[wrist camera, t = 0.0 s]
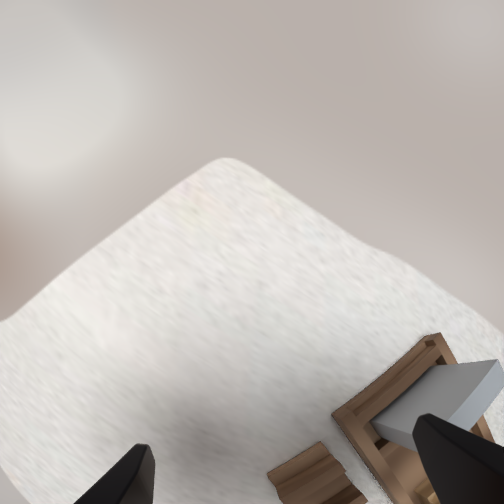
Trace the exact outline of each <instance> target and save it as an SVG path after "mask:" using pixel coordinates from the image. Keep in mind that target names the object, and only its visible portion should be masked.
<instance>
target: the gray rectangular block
mask: <svg viewBox="0 0 504 504" xmlns="http://www.w3.org/2000/svg"><path fill="white" fill-rule="evenodd" d="M503 387H504V371H503V369H502V367H501V365H500V362H499V360H498V359H495V360H487V361H479V362H470V363H460V364H449V365H436V366H430V367H429V368H428V369H427V370H426V371H425V372H424V373H423V374H422V375H421V376H420V377H419V378H418V379H417V380H415V381H414V382H413V383H412V384H411V385H410V386H409V387H408V388H407V389H406V390H405V391H404V392H402V393H401V394H400V395H399V396H398V397H397V398H396V399H395V400H393V401H392V402H391V403H390V404H389V405H388V406H386V407H385V408H384V409H383V410H382V411H380V412H379V413H378V414H377V415H375V416H374V417H373V418H372V419H371V420H369V422H370V424H371V425H372V427H373V428H374V430H375V432H376V433H377V435H378V436H380V437H382V438H384V439H387V440H389V441H391V442H394V443H396V444H398V445H401V446H403V447H406V448H408V449H410V450H413V451H415V452H418V451H417V448H416V445H415V442H414V440H413V437H412V431H413V428H414V426H415V423H416V421H417V418H418V417H419V416H420V415H422V414H426V413H431V414H433V415H435V416H437V417H439V418H441V419H443V420H445V421H447V422H450V423H452V424H454V425H456V426H458V427H460V428H462V429H465V430H467V431H469V430H470V429H471V428H472V427H473V426H474V424H475V423H476V422H477V421H478V420H479V418H480V417H481V416H482V415H483V414H484V412H485V411H486V410H487V408H488V407H489V406H490V405H491V403H492V402H493V401H494V399H495V398H496V397H497V395H498V394H499V393H500V391H501V390H502V388H503Z"/></svg>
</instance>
